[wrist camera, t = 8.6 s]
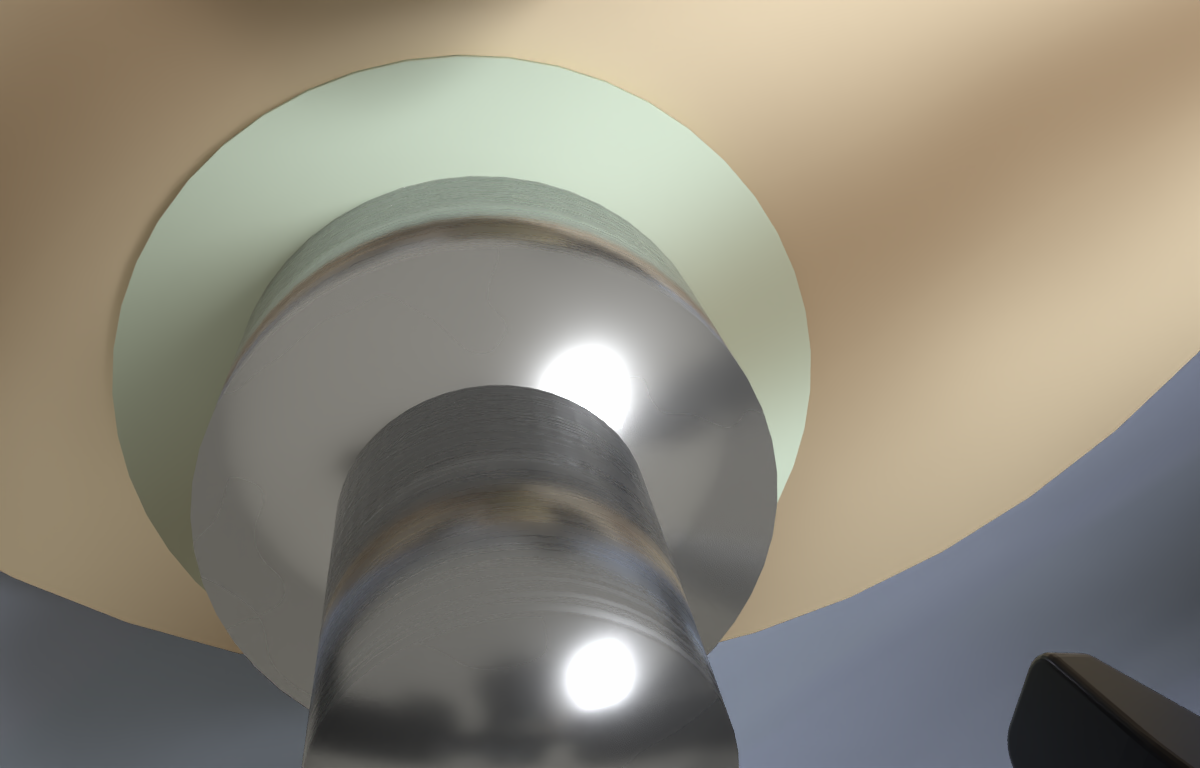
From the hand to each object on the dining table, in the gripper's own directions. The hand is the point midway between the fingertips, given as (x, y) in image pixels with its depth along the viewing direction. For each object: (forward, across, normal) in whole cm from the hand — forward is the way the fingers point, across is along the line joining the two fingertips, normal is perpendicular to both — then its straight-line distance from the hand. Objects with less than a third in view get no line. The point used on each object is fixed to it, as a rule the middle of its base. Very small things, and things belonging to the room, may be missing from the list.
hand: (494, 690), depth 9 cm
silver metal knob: (+5, 0, 0) cm, 5 cm away
